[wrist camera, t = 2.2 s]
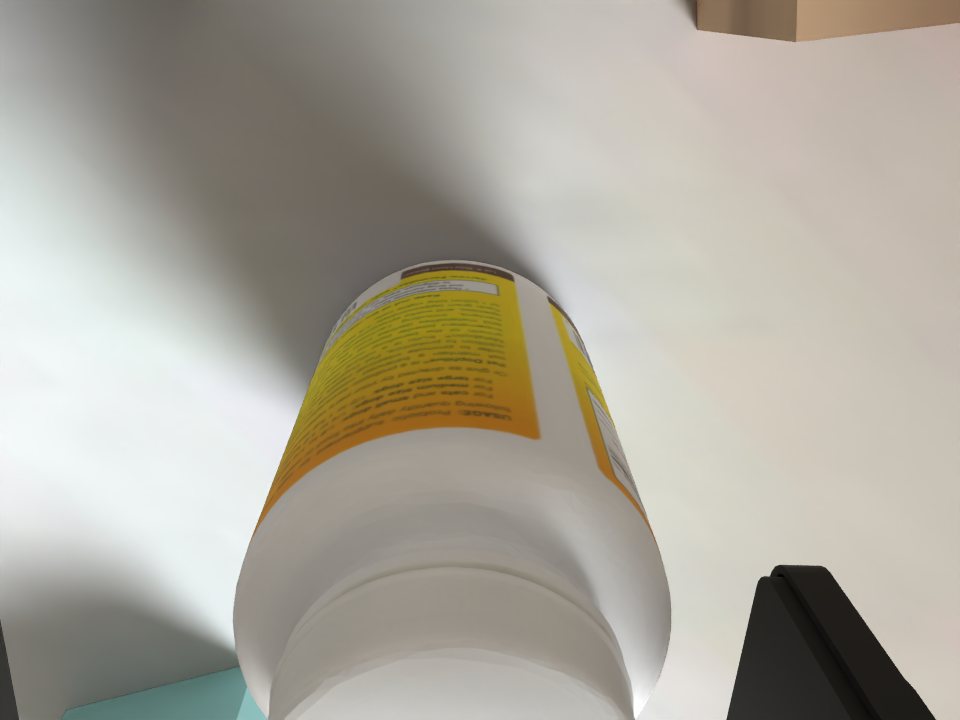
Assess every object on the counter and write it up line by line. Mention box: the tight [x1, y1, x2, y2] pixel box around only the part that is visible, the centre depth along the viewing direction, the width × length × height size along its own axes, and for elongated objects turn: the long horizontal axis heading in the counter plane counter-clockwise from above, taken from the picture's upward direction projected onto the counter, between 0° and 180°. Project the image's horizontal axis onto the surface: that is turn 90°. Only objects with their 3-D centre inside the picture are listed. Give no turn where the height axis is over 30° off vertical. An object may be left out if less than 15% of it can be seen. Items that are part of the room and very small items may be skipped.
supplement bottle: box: [233, 260, 671, 720], centre depth 13 cm, size 6×6×10 cm
